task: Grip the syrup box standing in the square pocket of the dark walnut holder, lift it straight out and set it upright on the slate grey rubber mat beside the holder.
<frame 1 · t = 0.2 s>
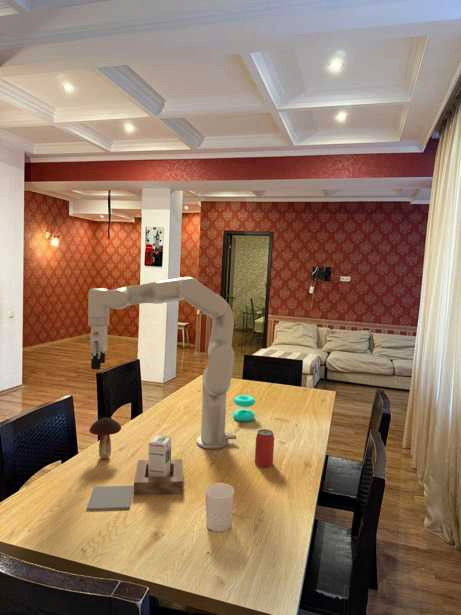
hand: (98, 366, 163), 31 cm above the table, tool pointing down, fingers open, 9 cm apart
beer can: (263, 464, 156), on the table
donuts: (243, 418, 201), on the table
slate mat: (111, 498, 129), on the table
decorative mushroom: (105, 458, 155), on the table
syrup box: (159, 482, 140), resting in walnut pocket holder
walnut pocket holder: (159, 481, 140), on the table
white cup: (218, 525, 118), on the table
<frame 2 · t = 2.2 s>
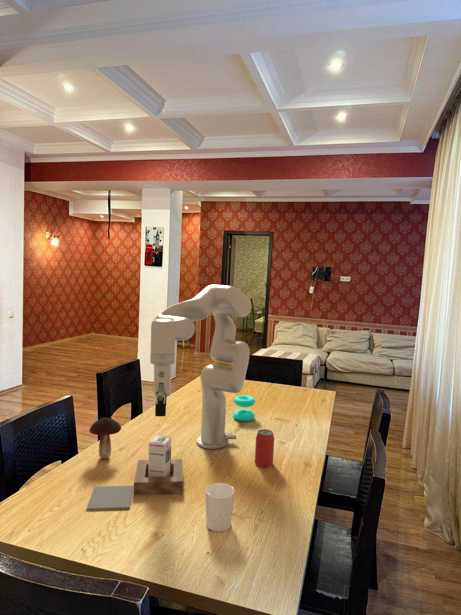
hand: (160, 410, 137), 24 cm above the table, tool pointing down, fingers open, 9 cm apart
nothing on the table moved.
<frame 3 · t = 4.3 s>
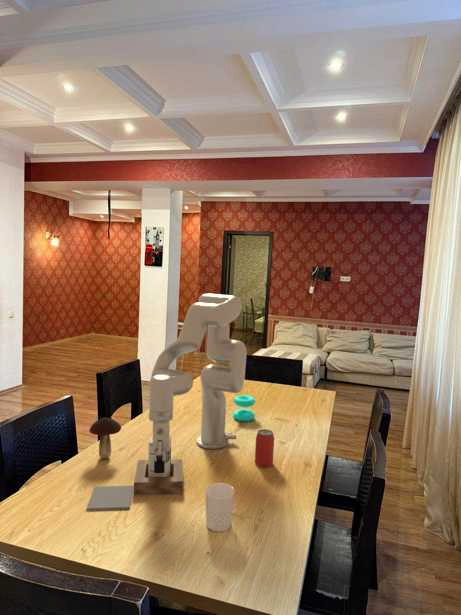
hand: (159, 466, 139), 5 cm above the table, tool pointing down, fingers closed on syrup box, 7 cm apart
syrup box: (159, 482, 140), resting in walnut pocket holder, touching gripper
everything else where it was.
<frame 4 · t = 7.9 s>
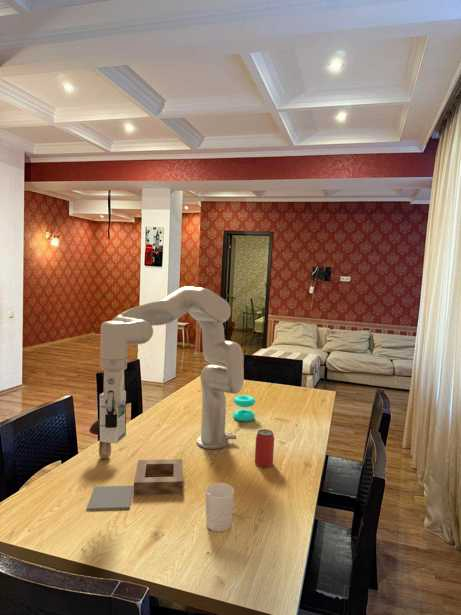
hand: (112, 421, 127), 24 cm above the table, tool pointing down, fingers closed on syrup box, 7 cm apart
syrup box: (112, 439, 127), point 18 cm above the table, touching gripper
everything else where it was.
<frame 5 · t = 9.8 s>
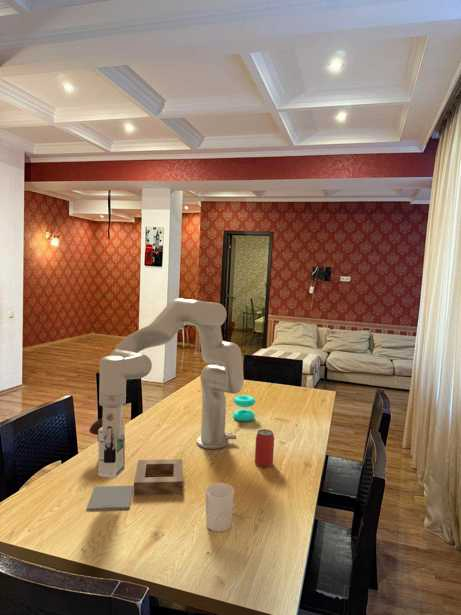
hand: (111, 456, 128), 13 cm above the table, tool pointing down, fingers closed on syrup box, 7 cm apart
syrup box: (111, 473, 128), point 8 cm above the table, touching gripper
everything else where it was.
when the fingers open (7 cm above the table, at t = 11.5 s): syrup box drops 1 cm, resting on slate mat.
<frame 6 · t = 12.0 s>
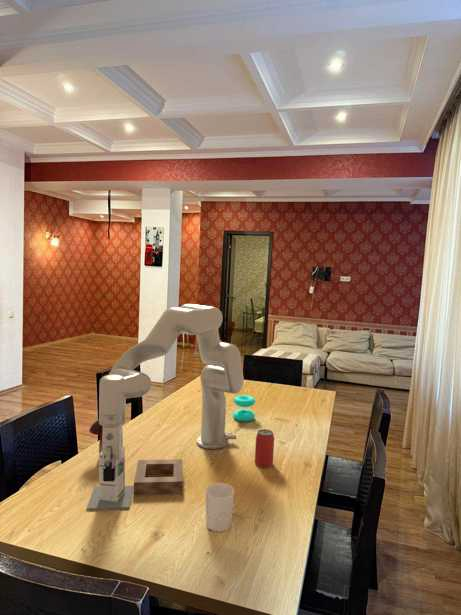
hand: (111, 472, 128), 8 cm above the table, tool pointing down, fingers open, 9 cm apart
syrup box: (111, 496, 129), resting on slate mat
everything else where it was.
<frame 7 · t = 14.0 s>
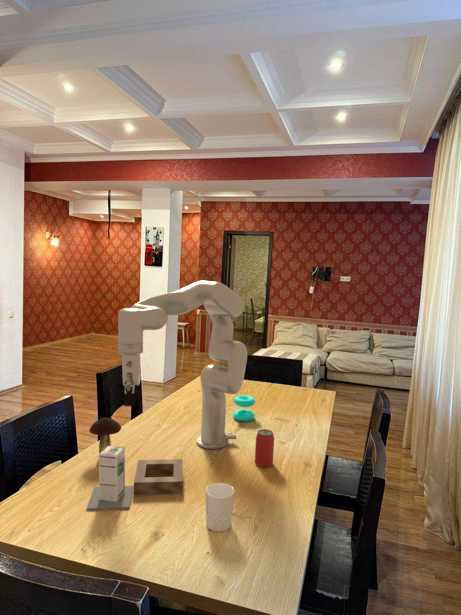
hand: (131, 400, 137), 27 cm above the table, tool pointing down, fingers open, 9 cm apart
nothing on the table moved.
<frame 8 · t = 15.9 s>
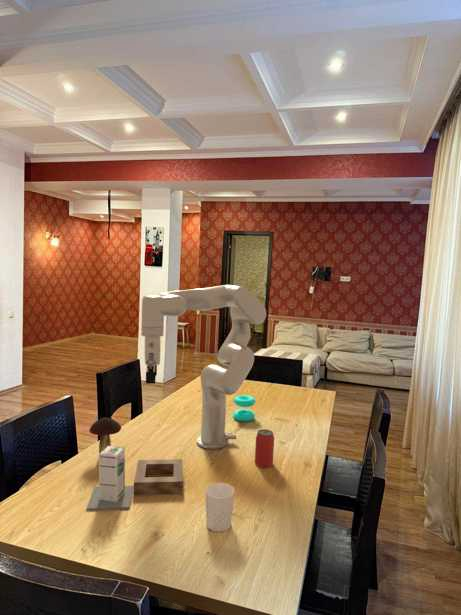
hand: (151, 379, 150), 30 cm above the table, tool pointing down, fingers open, 9 cm apart
nothing on the table moved.
at the end: syrup box inside the target area on the slate mat (0.2 cm from its centre), point 0.4 cm above the slate mat's base; syrup box tilted 0°; syrup box touching slate mat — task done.
